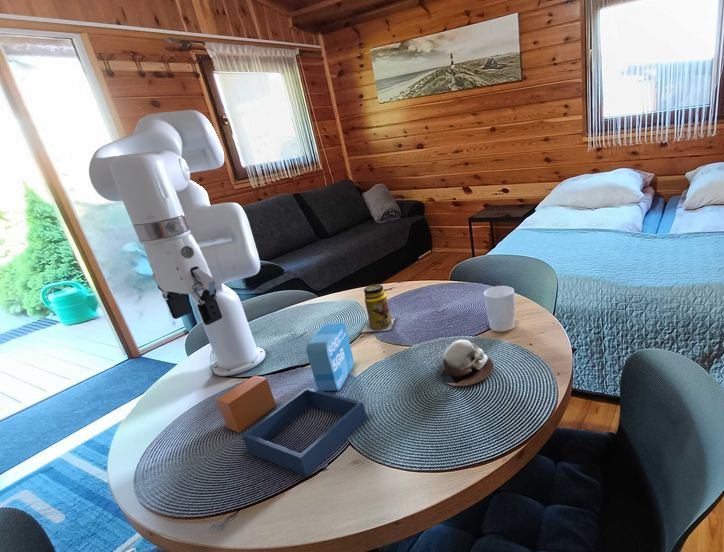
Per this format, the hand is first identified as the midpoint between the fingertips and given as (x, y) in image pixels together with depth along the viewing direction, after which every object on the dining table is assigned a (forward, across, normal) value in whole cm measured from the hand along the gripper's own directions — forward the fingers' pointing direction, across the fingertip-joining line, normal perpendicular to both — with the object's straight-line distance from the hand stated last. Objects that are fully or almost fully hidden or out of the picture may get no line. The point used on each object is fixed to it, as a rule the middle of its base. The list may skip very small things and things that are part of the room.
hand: (197, 318), depth 80 cm
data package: (+24, -10, -19) cm, 32 cm away
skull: (+24, -38, -31) cm, 54 cm away
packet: (+24, -2, -2) cm, 24 cm away
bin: (+24, -18, -2) cm, 30 cm away
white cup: (+24, -37, -53) cm, 69 cm away
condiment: (+24, -2, -44) cm, 51 cm away
